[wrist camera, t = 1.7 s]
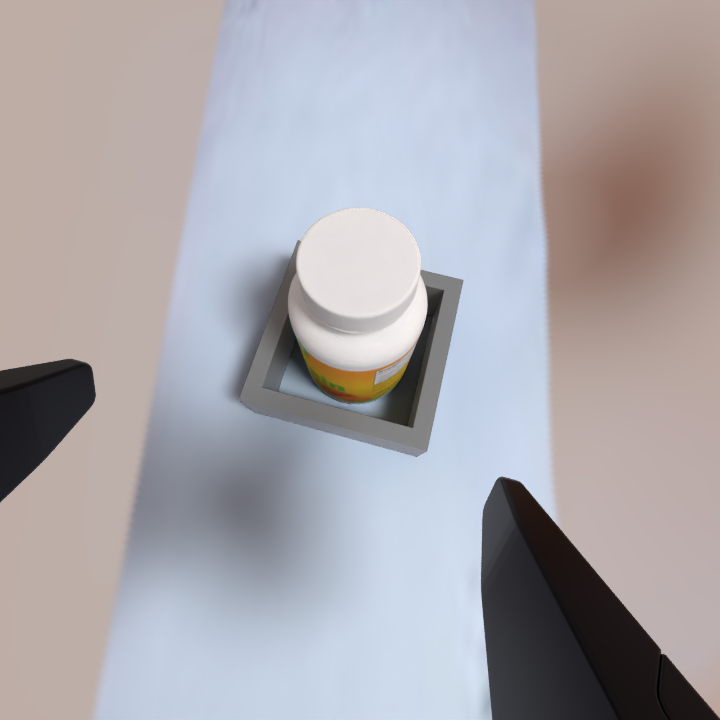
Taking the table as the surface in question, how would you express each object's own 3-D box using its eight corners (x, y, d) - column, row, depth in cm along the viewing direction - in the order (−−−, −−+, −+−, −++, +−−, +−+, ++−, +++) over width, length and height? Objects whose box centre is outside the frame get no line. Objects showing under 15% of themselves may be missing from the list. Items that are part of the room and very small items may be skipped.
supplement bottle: (286, 353, 22) (236, 252, 13) (360, 293, 23) (364, 161, 14) (352, 427, 21) (350, 375, 11) (426, 361, 22) (479, 265, 13)
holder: (416, 456, 20) (427, 451, 17) (254, 412, 21) (238, 399, 18) (449, 306, 23) (463, 280, 20) (304, 270, 23) (297, 240, 21)
